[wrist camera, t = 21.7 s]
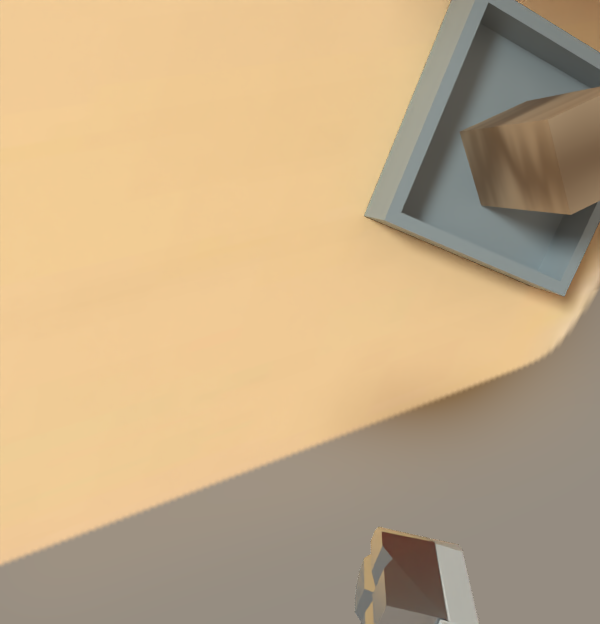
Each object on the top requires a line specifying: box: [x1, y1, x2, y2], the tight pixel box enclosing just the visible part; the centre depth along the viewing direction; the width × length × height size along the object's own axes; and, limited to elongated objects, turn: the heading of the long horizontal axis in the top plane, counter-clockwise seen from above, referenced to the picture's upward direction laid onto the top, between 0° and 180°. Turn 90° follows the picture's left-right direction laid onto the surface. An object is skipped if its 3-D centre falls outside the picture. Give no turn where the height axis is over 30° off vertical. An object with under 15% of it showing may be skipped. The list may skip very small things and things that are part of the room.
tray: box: [364, 0, 600, 296], centre depth 35 cm, size 14×14×4 cm
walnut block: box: [460, 87, 600, 215], centre depth 32 cm, size 5×5×8 cm
